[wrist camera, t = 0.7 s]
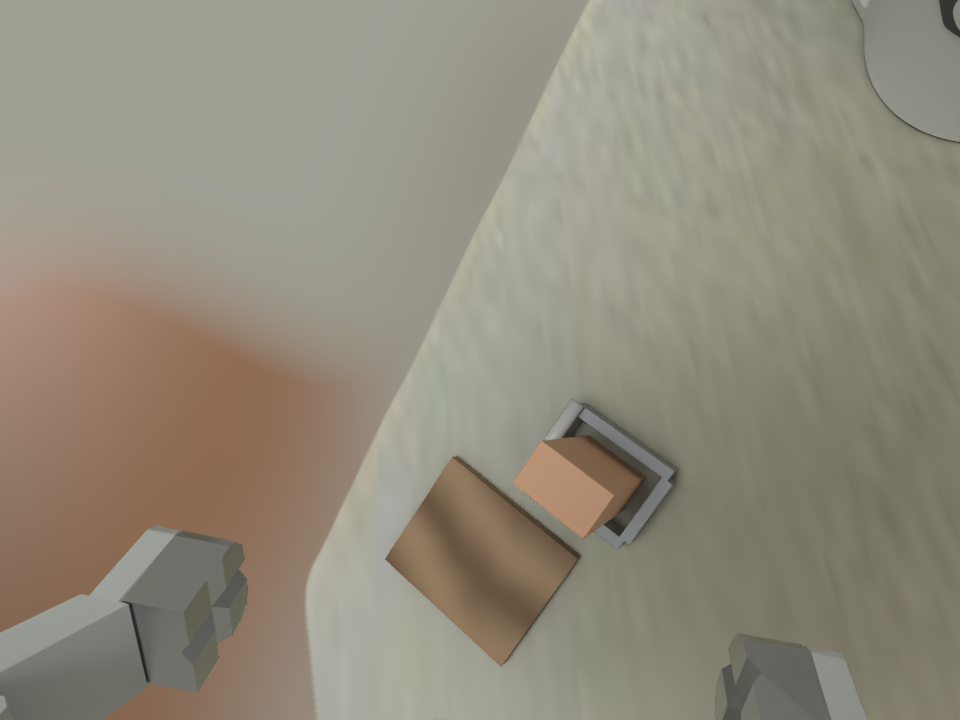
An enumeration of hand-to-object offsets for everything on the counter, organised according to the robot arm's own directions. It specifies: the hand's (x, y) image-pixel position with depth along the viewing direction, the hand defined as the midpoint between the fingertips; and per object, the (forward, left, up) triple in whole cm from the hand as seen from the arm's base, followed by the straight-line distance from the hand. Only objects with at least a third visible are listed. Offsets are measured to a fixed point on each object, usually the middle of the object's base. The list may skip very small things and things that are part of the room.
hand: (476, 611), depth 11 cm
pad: (+15, -8, -39) cm, 43 cm away
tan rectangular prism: (+4, -4, -39) cm, 39 cm away
